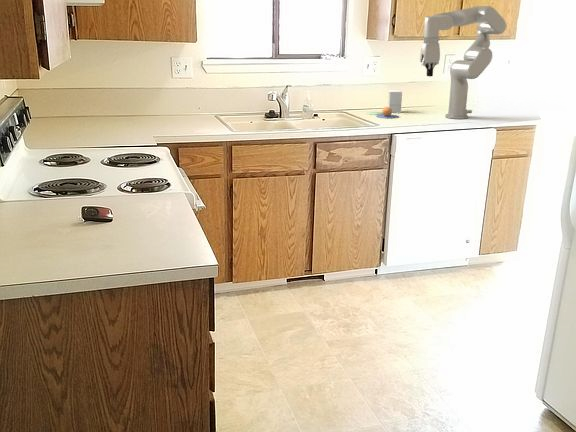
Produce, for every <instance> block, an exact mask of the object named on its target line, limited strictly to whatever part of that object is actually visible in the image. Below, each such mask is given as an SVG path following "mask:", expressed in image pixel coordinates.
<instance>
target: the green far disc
mask: <svg viewBox="0 0 576 432" xmlns="http://www.w3.org/2000/svg"><path fill="white" fill-rule="evenodd" d="M367 115H372V116H377V115H382V112H381V111H369V112H367Z"/></svg>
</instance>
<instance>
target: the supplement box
mask: <svg viewBox="0 0 576 432" xmlns="http://www.w3.org/2000/svg"><path fill="white" fill-rule="evenodd" d="M402 96H403V92H402V90H400V89H399V90H398V89H394V90H393V89H392V90H391V89H390V90H388V103H387V107H390V108H391V110H392V113H391V114H394V113H395V114H398V113H399V114H401V113H402V102H403V101H402V100H403V99H402Z"/></svg>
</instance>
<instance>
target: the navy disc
mask: <svg viewBox="0 0 576 432" xmlns="http://www.w3.org/2000/svg"><path fill="white" fill-rule="evenodd" d="M375 117H376V118H378V119H398V118H399V117H400V115H397V114H396V115H395V114H391V115H390V116H384V115H383V114H382V115H375Z"/></svg>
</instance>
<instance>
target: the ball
mask: <svg viewBox="0 0 576 432" xmlns="http://www.w3.org/2000/svg"><path fill="white" fill-rule="evenodd" d="M381 111H382V114H383V115H384V116H390V115H392V114H393V113H392V110H391V108H390V107H388V106H385V107H383V108H382V110H381Z"/></svg>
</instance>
